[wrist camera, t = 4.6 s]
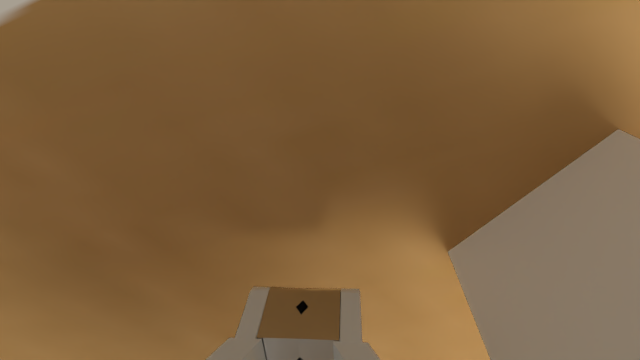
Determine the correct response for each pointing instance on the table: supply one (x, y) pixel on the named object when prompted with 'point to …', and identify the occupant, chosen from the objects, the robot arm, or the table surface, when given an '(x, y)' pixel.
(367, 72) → the table surface
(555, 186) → the white cube
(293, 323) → the robot arm
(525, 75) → the table surface
